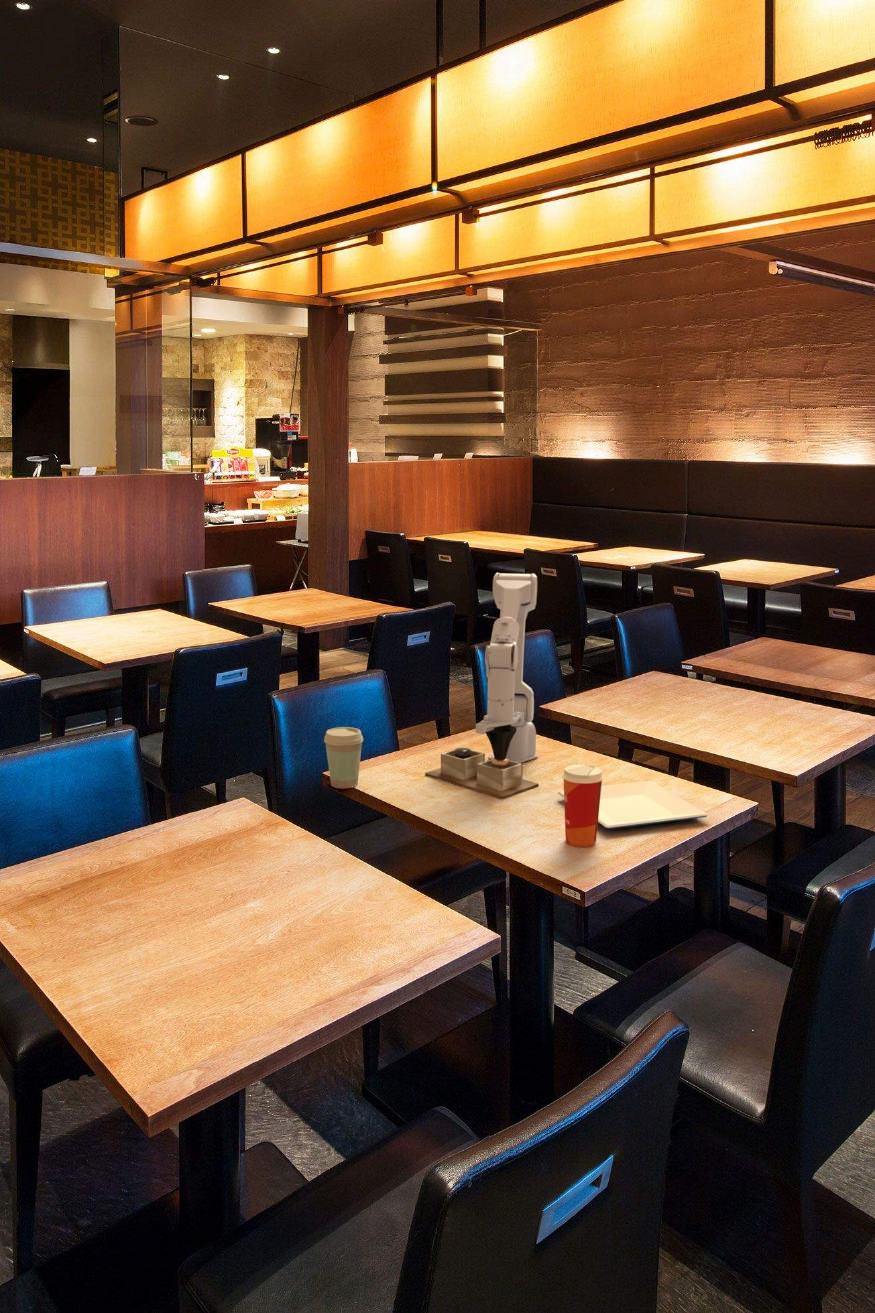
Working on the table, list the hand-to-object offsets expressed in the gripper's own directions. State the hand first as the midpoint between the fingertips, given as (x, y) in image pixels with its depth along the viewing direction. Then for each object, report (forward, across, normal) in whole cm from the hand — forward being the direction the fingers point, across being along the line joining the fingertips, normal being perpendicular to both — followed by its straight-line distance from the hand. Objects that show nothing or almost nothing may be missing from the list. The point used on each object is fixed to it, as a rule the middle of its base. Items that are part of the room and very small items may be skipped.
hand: (500, 759), depth 220 cm
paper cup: (+6, +16, +31) cm, 35 cm away
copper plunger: (+5, 0, 0) cm, 5 cm away
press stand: (+6, 0, -6) cm, 8 cm away
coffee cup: (+6, +22, -26) cm, 35 cm away
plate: (+6, -6, +29) cm, 31 cm away
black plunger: (+5, -1, -11) cm, 12 cm away
